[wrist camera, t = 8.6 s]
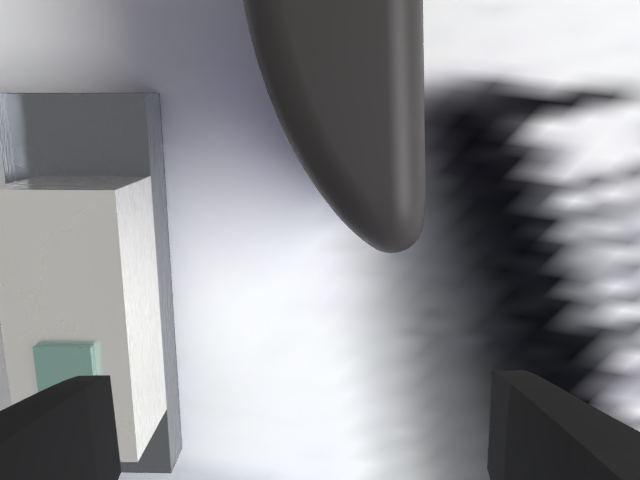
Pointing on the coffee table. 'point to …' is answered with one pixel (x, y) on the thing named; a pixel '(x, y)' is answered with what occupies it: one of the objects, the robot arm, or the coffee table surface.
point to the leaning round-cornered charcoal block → (351, 105)
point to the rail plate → (110, 151)
